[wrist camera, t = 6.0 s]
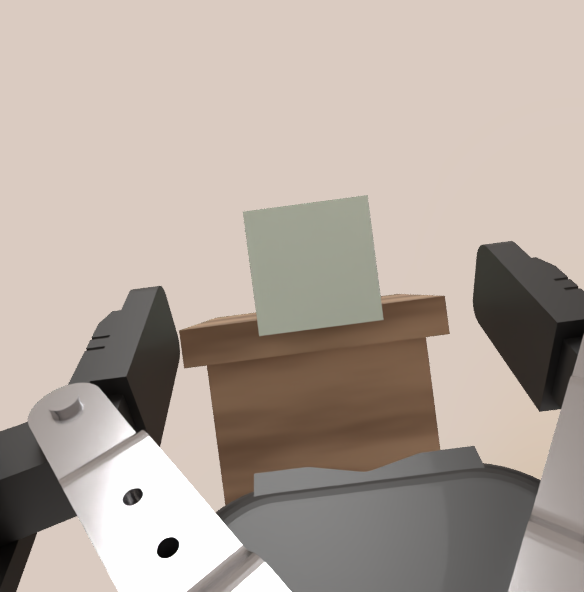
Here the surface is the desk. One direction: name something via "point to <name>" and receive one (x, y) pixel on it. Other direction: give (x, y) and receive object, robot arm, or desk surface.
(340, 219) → the sage block
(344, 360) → the walnut stand
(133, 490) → the robot arm
